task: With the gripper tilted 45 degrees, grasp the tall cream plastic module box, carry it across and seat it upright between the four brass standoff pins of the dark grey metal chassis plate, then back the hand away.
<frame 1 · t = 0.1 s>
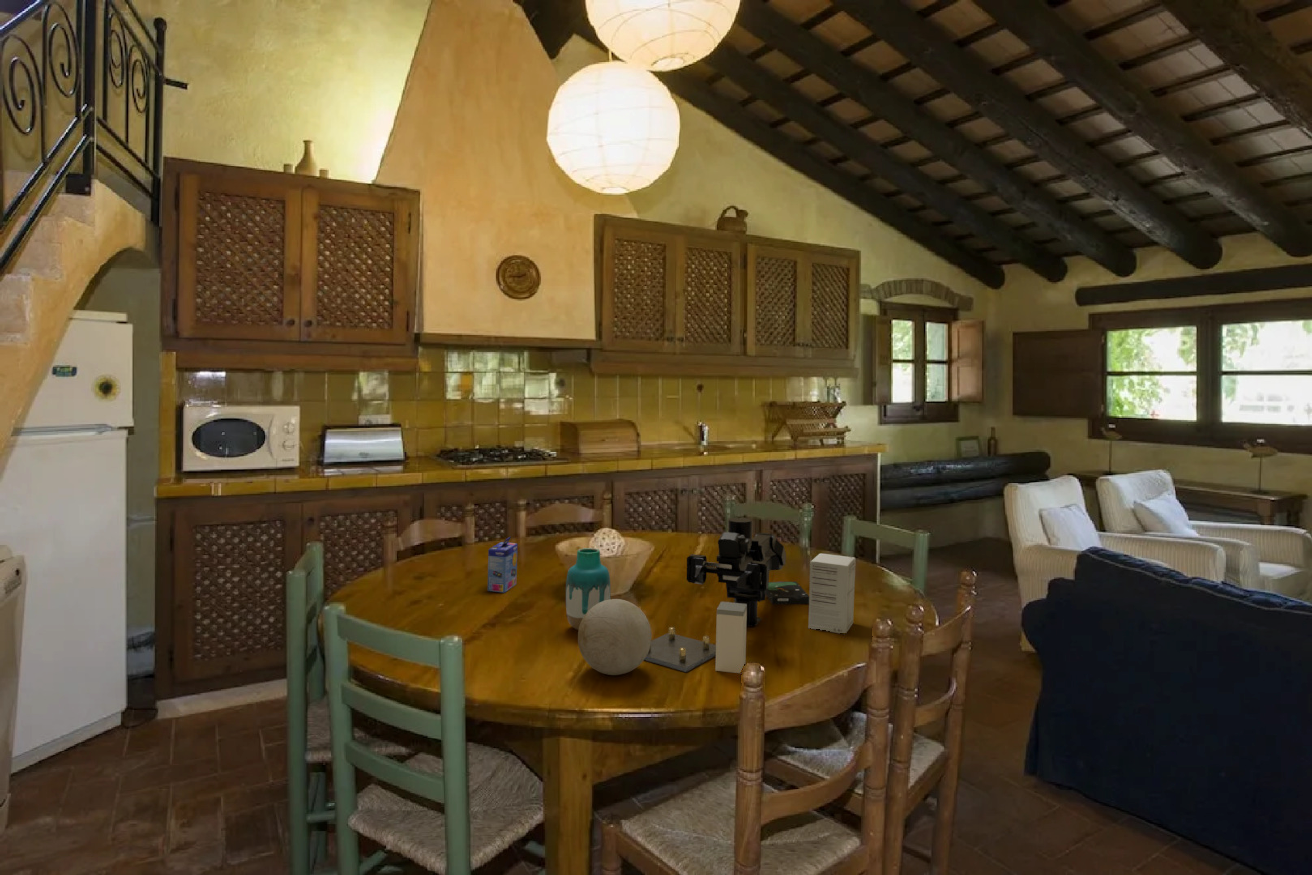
hand: (715, 581, 163), 17 cm above the table, tool horizontal, fingers open, 9 cm apart
vase: (587, 630, 181), on the table
decorative sphere: (614, 673, 155), on the table
supplement box: (830, 626, 186), on the table
chassis: (676, 653, 166), on the table
disk drive: (784, 598, 210), on the table
ink cartridge box: (502, 588, 214), on the table
module box: (730, 667, 158), on the table
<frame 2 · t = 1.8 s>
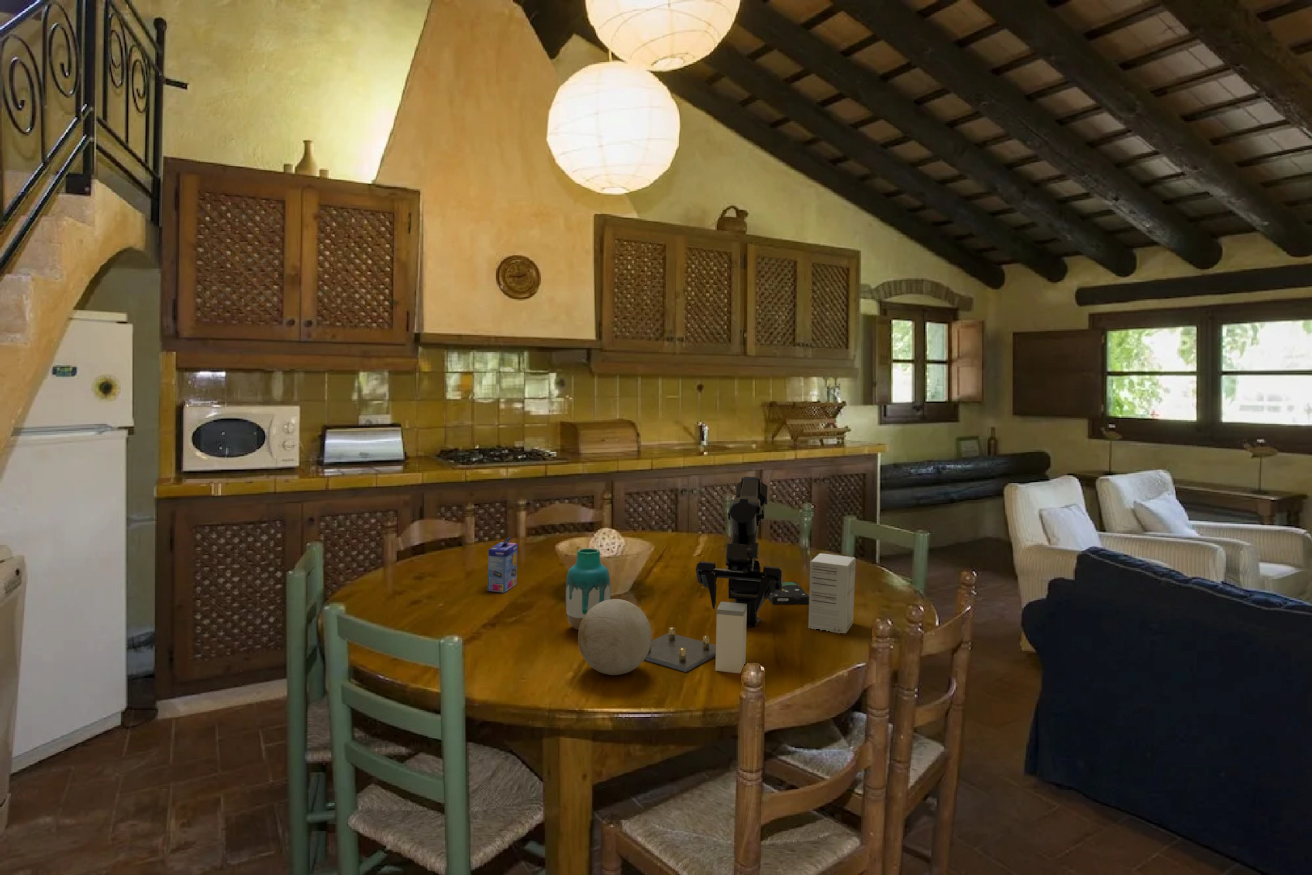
hand: (734, 610, 161), 11 cm above the table, tool tilted 45°, fingers open, 9 cm apart
nothing on the table moved.
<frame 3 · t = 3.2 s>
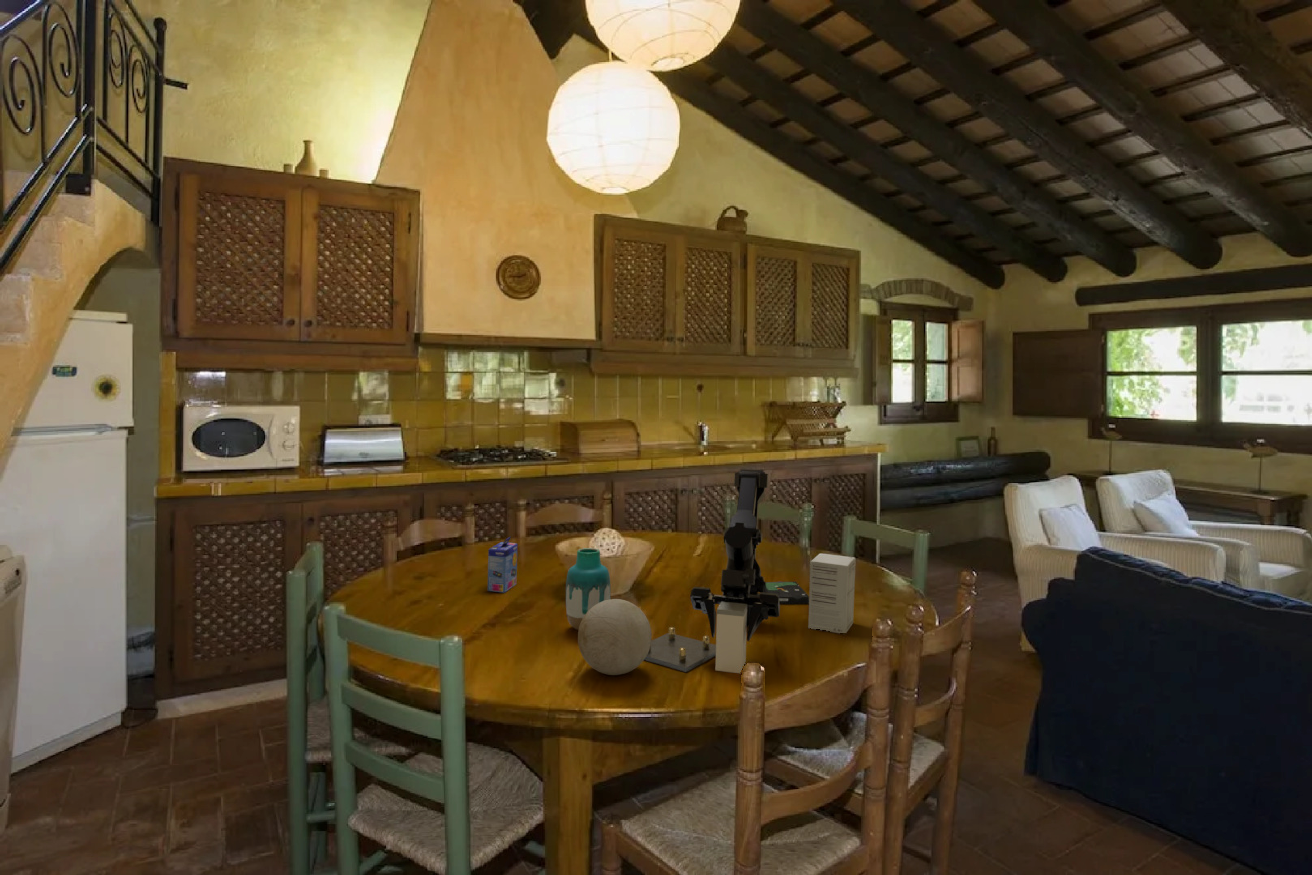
hand: (730, 638, 157), 7 cm above the table, tool tilted 45°, fingers open, 7 cm apart
module box: (730, 666, 158), on the table, touching gripper
everything else where it was.
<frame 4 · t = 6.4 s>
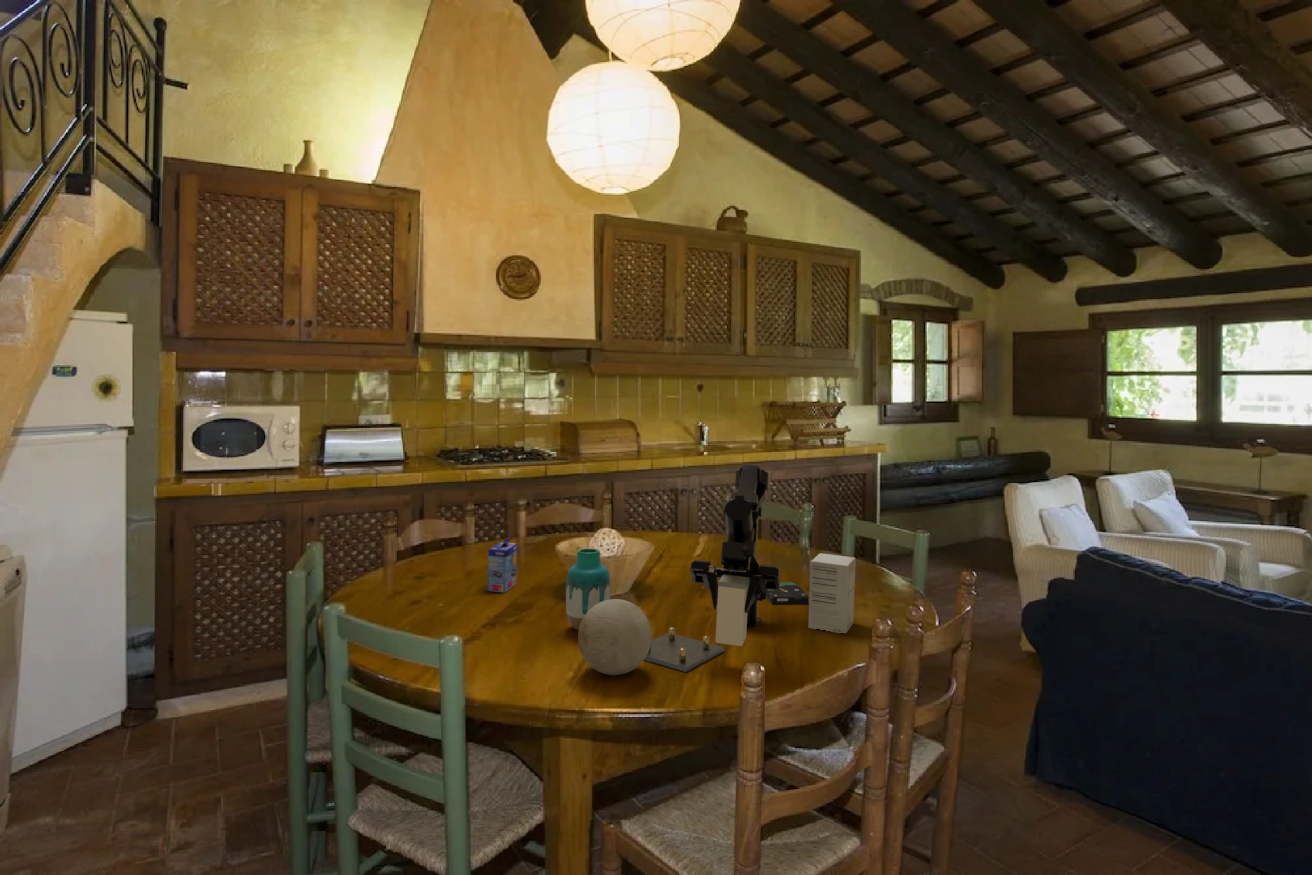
hand: (730, 610, 156), 13 cm above the table, tool tilted 45°, fingers closed on module box, 6 cm apart
module box: (730, 639, 158), point 6 cm above the table, touching gripper
everything else where it was.
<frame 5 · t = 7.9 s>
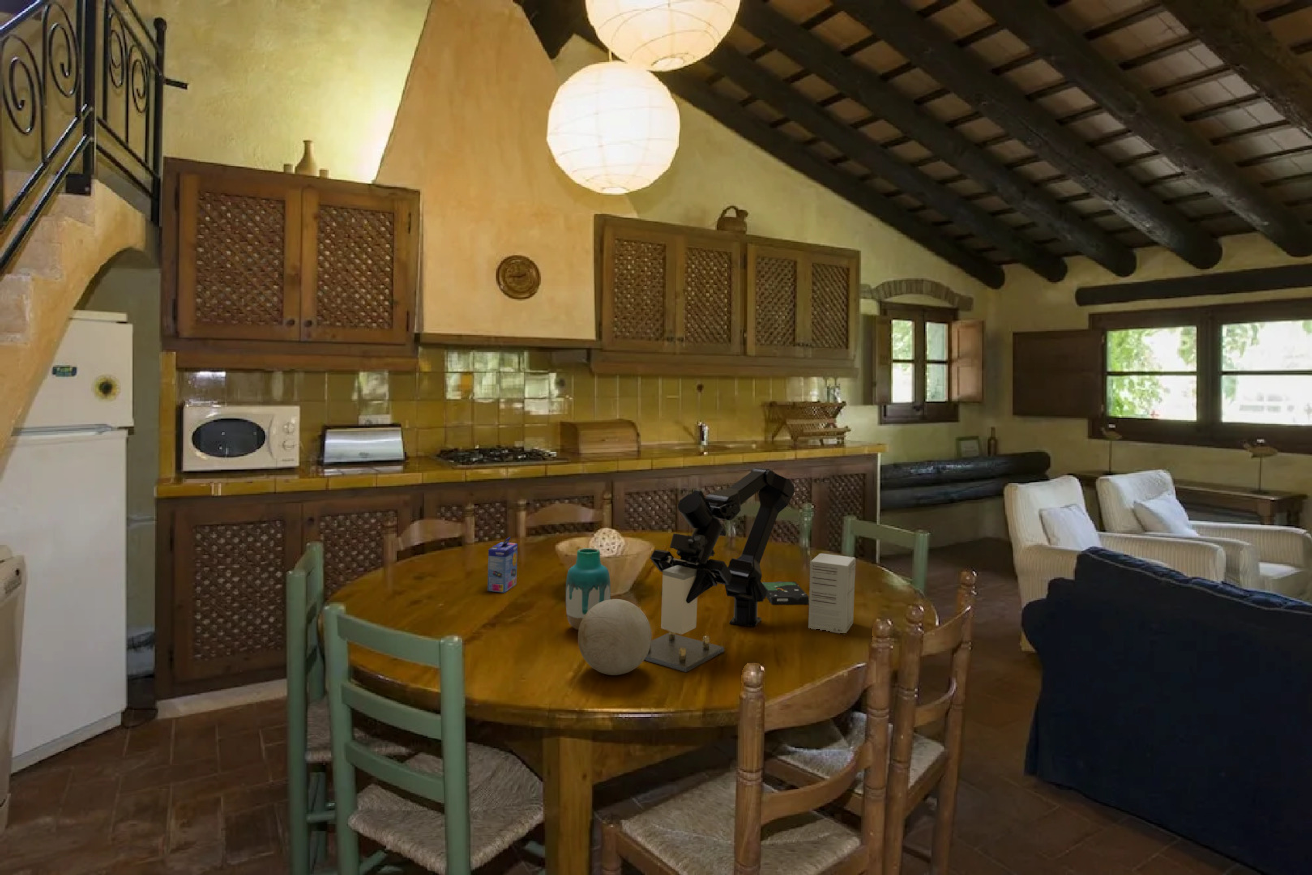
hand: (674, 599, 163), 13 cm above the table, tool tilted 45°, fingers closed on module box, 6 cm apart
module box: (678, 627, 165), point 6 cm above the table, touching gripper
everything else where it was.
when the fingers open (9 cm above the table, at t = 9.2 s): module box drops 1 cm, resting on chassis.
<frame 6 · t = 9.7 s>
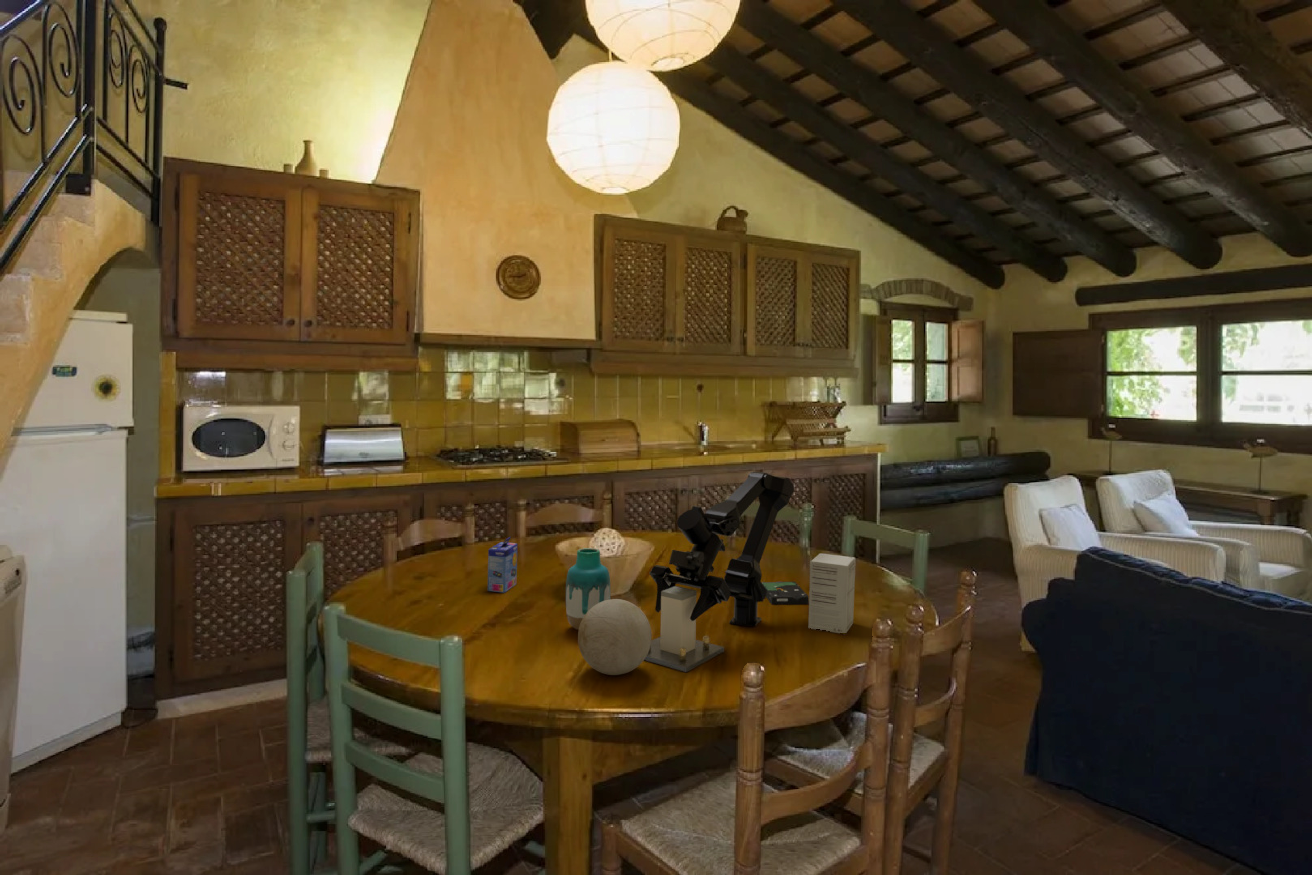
hand: (673, 615, 164), 9 cm above the table, tool tilted 45°, fingers open, 9 cm apart
module box: (677, 648, 166), point 1 cm above the table, touching chassis
everything else where it was.
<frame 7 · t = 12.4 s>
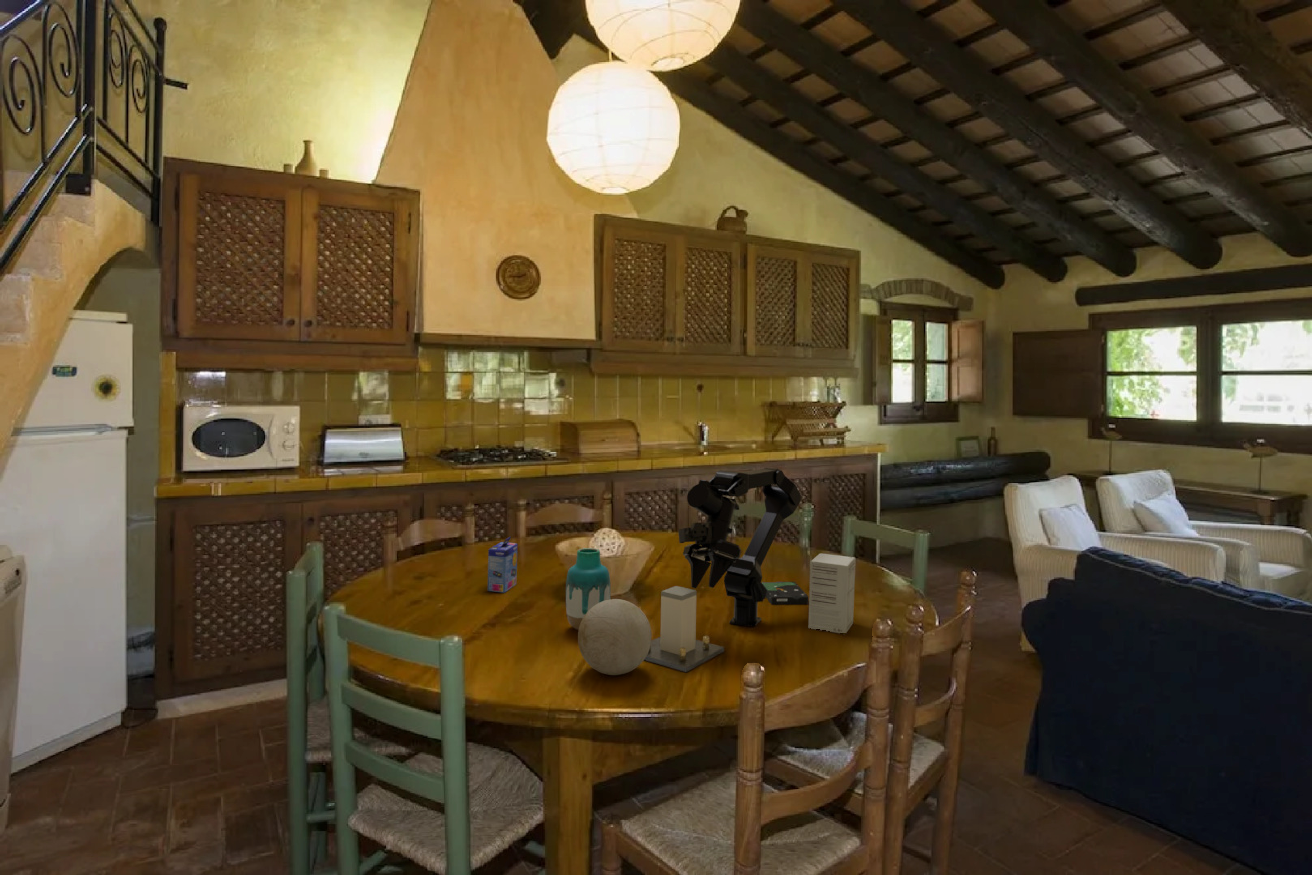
hand: (702, 587, 171), 13 cm above the table, tool tilted 25°, fingers open, 9 cm apart
nothing on the table moved.
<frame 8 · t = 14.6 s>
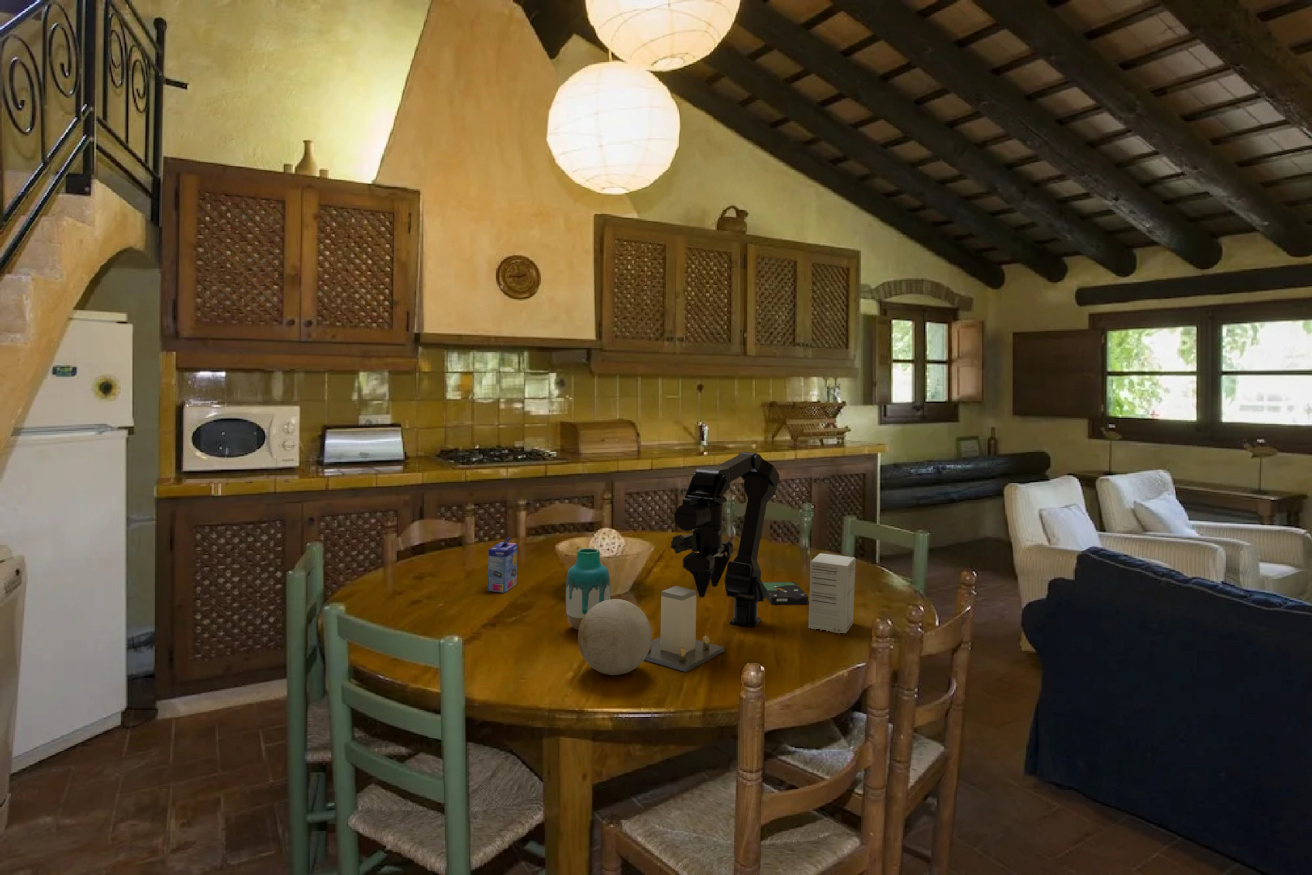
hand: (708, 591, 171), 12 cm above the table, tool pointing down, fingers open, 9 cm apart
nothing on the table moved.
at the end: module box 0.2 cm off-centre on the chassis, point 1.0 cm above the chassis's base; module box tilted 0°; the gripper is holding nothing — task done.
